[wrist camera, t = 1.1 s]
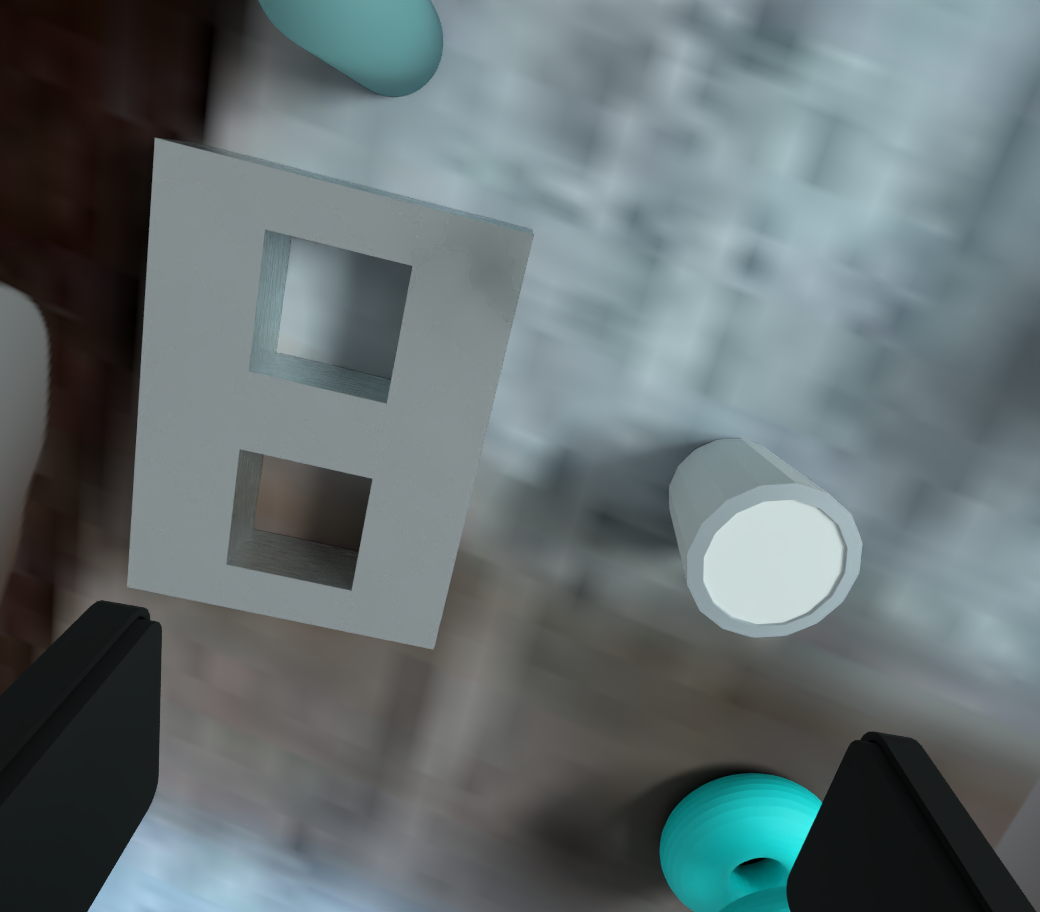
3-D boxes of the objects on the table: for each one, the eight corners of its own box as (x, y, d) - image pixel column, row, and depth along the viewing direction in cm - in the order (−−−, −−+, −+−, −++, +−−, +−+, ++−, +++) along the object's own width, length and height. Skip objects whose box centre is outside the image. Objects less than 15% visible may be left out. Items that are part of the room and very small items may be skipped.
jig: (195, 142, 29) (154, 137, 26) (532, 229, 30) (533, 234, 27) (163, 549, 36) (127, 586, 32) (441, 608, 37) (433, 649, 34)
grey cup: (627, 517, 35) (652, 594, 29) (708, 399, 33) (755, 452, 26) (743, 578, 36) (791, 665, 30) (828, 468, 34) (901, 535, 28)
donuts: (957, 962, 32) (854, 1097, 35) (857, 784, 41) (783, 905, 44) (746, 914, 31) (661, 1058, 34) (693, 743, 40) (631, 869, 43)
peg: (348, -35, 27) (257, -150, 18) (452, -5, 27) (418, -103, 18) (332, 81, 28) (239, 31, 19) (431, 108, 29) (389, 72, 19)
